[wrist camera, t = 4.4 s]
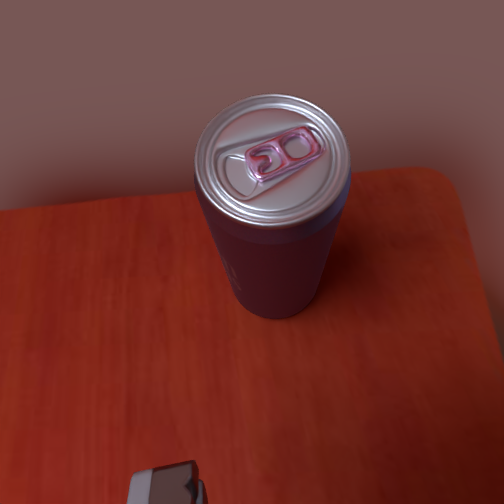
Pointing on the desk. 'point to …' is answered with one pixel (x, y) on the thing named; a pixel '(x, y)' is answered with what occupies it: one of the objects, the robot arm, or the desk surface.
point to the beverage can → (273, 197)
